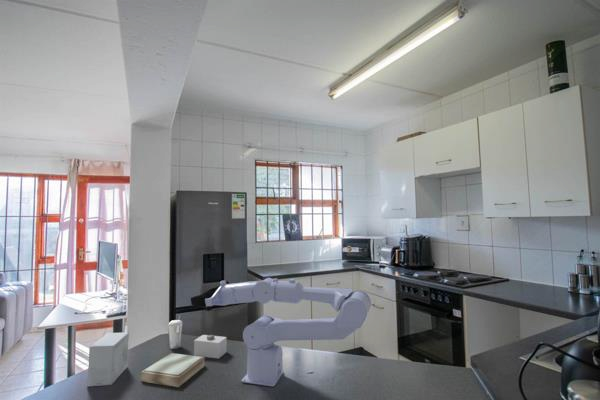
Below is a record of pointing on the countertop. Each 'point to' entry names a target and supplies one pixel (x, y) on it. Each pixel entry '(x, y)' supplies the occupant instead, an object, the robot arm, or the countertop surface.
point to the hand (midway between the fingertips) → (200, 297)
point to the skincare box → (107, 359)
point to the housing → (210, 346)
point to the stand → (173, 369)
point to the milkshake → (175, 333)
